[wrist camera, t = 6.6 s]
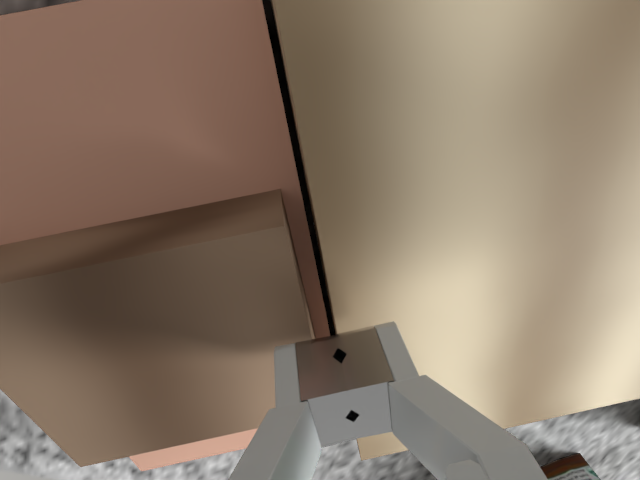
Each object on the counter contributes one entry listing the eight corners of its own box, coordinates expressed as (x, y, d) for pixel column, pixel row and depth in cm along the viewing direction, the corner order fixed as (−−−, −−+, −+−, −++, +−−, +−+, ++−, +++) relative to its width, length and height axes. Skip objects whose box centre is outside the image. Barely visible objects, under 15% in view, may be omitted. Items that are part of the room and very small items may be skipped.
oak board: (837, -132, 9) (1072, -193, 6) (634, 331, 17) (697, 385, 15) (265, -26, 8) (265, -45, 6) (346, 394, 17) (361, 460, 14)
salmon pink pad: (257, -25, 8) (255, -33, 7) (342, 394, 17) (349, 425, 16) (-139, 48, 8) (-214, 55, 7) (150, 436, 17) (141, 471, 15)
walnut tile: (280, 188, 10) (283, 225, 8) (321, 362, 13) (330, 412, 12) (-25, 250, 9) (-89, 301, 8) (104, 408, 13) (80, 467, 11)
